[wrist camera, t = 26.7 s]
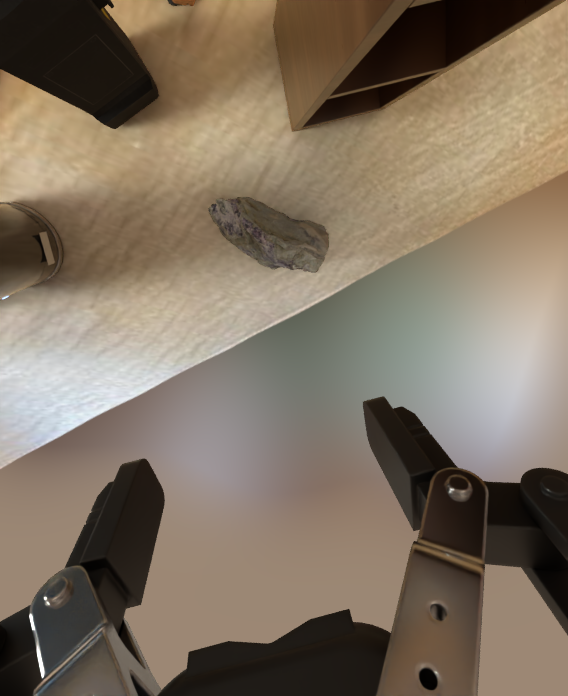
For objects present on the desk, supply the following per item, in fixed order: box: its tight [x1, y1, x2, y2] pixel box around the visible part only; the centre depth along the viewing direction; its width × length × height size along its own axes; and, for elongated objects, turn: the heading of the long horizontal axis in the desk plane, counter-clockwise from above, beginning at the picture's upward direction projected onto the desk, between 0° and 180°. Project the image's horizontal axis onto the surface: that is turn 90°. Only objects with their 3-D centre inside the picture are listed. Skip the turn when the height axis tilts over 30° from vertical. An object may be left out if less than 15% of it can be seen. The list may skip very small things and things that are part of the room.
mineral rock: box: [209, 197, 329, 273], centre depth 38 cm, size 13×11×10 cm
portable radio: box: [0, 0, 159, 129], centre depth 24 cm, size 8×6×25 cm
